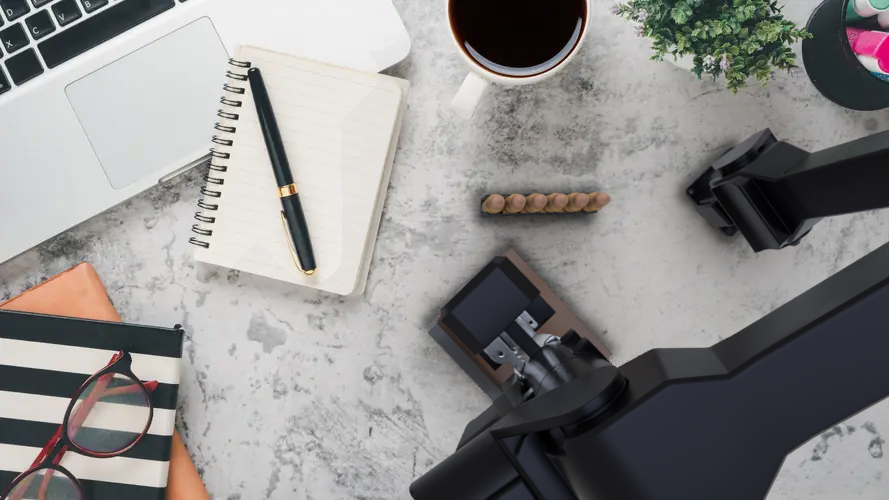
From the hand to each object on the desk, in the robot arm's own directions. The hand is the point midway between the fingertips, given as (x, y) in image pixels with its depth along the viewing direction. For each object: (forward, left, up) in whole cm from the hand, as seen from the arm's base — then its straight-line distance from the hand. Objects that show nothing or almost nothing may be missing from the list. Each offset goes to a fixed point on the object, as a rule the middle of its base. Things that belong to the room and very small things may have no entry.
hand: (543, 358), depth 53 cm
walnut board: (+1, -1, -12) cm, 12 cm away
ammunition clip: (-10, -9, -12) cm, 18 cm away
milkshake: (0, 0, -3) cm, 3 cm away
